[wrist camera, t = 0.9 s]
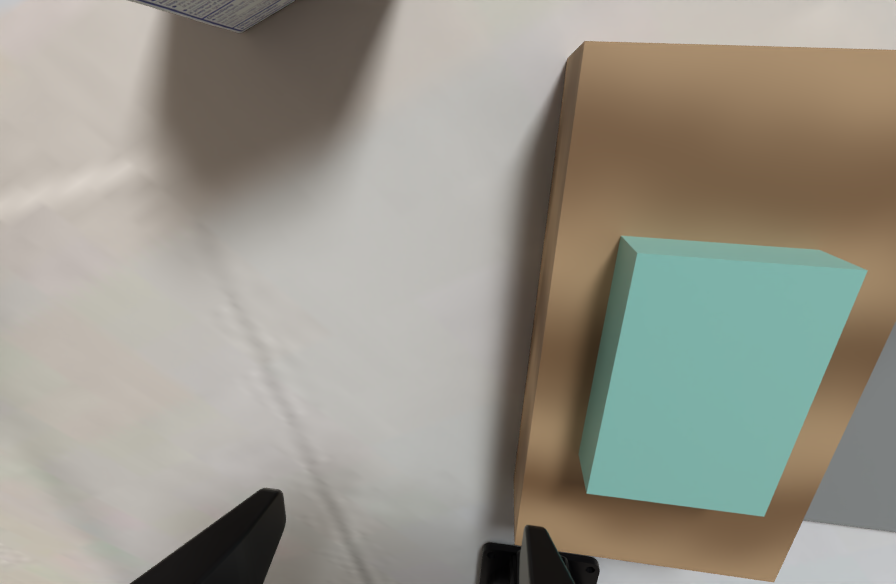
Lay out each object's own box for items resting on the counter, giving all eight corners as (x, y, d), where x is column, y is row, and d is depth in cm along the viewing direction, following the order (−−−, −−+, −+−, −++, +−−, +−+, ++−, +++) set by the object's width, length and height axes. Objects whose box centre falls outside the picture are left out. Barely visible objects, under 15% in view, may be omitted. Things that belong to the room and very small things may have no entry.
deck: (730, 506, 23) (774, 582, 19) (513, 478, 24) (514, 545, 20) (895, 69, 15) (1021, 53, 11) (567, 58, 16) (584, 41, 12)
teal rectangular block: (736, 473, 17) (764, 516, 15) (578, 454, 18) (586, 493, 16) (819, 249, 14) (867, 270, 12) (620, 235, 14) (637, 253, 12)
